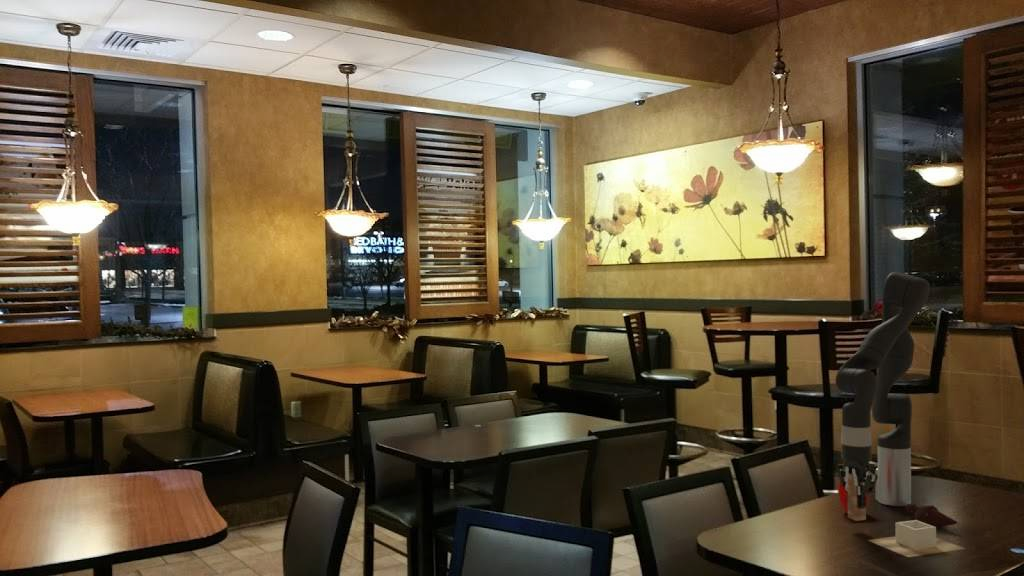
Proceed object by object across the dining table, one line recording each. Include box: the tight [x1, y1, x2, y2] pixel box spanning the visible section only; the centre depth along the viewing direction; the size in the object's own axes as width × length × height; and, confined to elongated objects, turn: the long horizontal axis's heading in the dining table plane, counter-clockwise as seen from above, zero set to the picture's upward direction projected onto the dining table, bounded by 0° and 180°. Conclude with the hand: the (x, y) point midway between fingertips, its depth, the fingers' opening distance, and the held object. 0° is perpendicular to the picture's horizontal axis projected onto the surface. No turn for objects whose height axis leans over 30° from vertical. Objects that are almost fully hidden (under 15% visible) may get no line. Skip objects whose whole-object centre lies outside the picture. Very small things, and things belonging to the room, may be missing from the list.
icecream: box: [904, 503, 958, 529], centre depth 230 cm, size 7×7×15 cm
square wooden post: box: [847, 474, 867, 522], centre depth 226 cm, size 3×3×12 cm
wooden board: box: [867, 536, 966, 558], centre depth 215 cm, size 14×18×1 cm
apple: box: [837, 477, 870, 514], centre depth 246 cm, size 9×9×11 cm
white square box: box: [894, 520, 937, 550], centre depth 215 cm, size 7×7×5 cm
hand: (856, 506), depth 227 cm, fingers closed on square wooden post, 3 cm apart
